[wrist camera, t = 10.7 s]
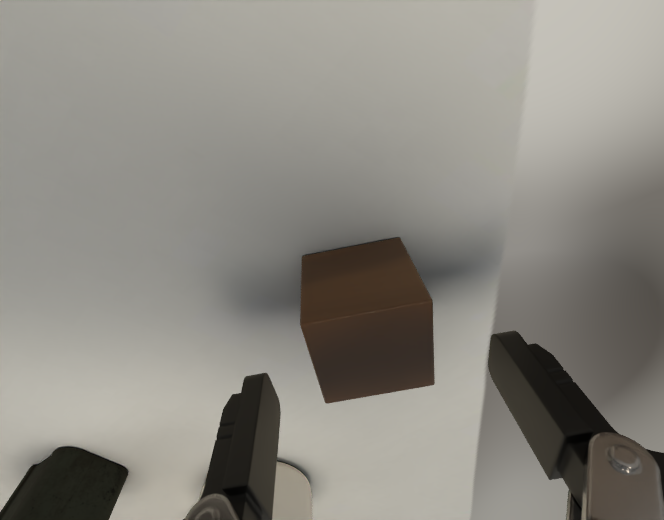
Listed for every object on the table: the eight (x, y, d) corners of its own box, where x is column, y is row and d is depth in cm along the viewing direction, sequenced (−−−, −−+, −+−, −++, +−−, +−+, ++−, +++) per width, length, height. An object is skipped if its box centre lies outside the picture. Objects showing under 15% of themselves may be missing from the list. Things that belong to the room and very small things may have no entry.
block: (301, 255, 15) (299, 324, 11) (400, 236, 15) (433, 299, 11) (321, 327, 17) (325, 404, 13) (406, 311, 17) (435, 385, 13)
